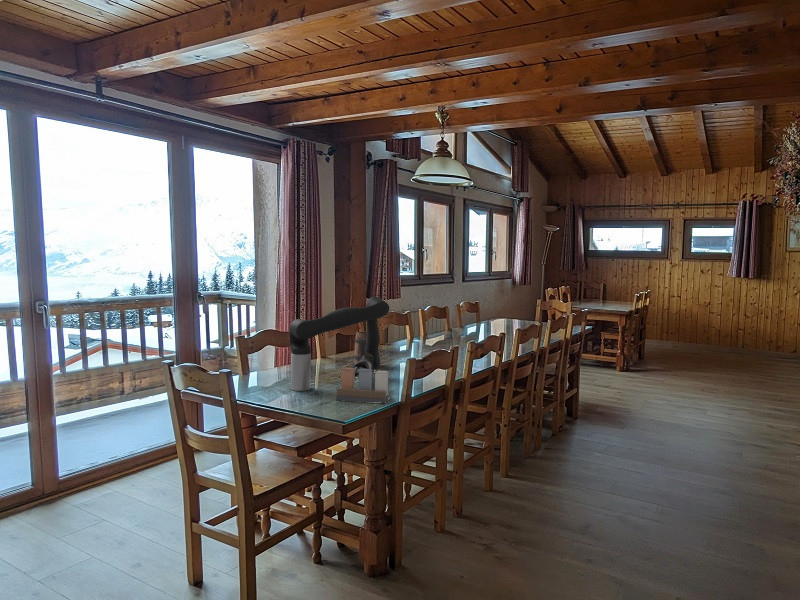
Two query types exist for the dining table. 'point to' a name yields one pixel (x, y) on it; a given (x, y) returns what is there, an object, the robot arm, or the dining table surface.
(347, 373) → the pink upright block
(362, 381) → the blue-grey key
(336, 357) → the dining table surface
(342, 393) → the key bed
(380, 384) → the cream key
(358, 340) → the tankard
